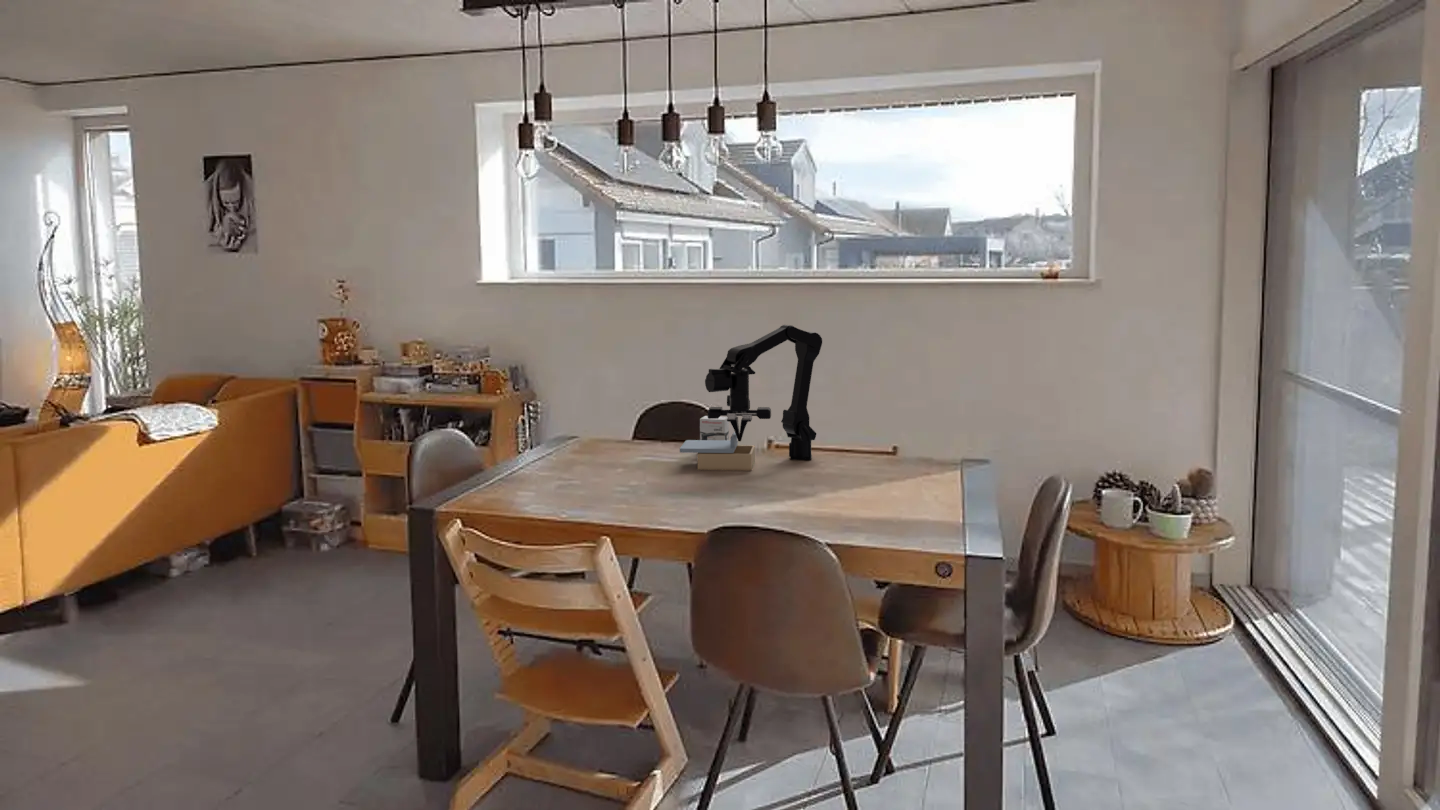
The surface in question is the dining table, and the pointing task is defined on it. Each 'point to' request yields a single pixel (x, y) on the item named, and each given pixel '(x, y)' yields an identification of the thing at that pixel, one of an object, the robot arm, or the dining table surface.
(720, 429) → the ink box
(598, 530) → the dining table surface
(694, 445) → the lid
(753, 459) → the tan shallow open box
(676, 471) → the dining table surface
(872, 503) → the dining table surface
